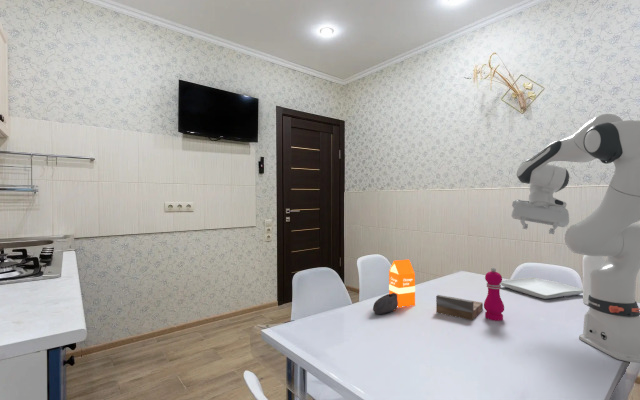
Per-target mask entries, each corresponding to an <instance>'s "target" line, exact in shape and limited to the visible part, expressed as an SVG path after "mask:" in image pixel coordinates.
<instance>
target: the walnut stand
mask: <svg viewBox="0 0 640 400" xmlns="http://www.w3.org/2000/svg"><path fill="white" fill-rule="evenodd" d="M435 298H436V307H435V308H436V312H435V313H437V312H438V313H437V314H441V313H442V314H441V315H445V314H446V316H450V315H451V316H450V317H455V316H456V317H455V318H459V317H460V318H461V319H465V320H469V321H473V320H474V319H475V318H476V317H477V316H478V315H479V314H480V313H482V311H483V310H484V309H483V308H484V303H483V302H480V301H475V300H469V299H464V298H460V297H459V298H458V297H452V296H445V295H441V294H437V295H436V297H435Z"/></svg>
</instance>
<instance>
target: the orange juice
mask: <svg viewBox="0 0 640 400" xmlns="http://www.w3.org/2000/svg"><path fill="white" fill-rule="evenodd" d="M415 277H416V273H415V270H414V268H413V266H412V262H411V261H410V259H402V260H401V259H399V260H397V259H396V260H393V262H392V264H391V266H390V268H389V271H388V292H389V293H388V294H391V293H395V294H397V301H398V307H397V308H399V307H400V308H403V307H402V306H407V307H411V306H410V305H413V306H416V278H415Z"/></svg>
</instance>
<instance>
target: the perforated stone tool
mask: <svg viewBox="0 0 640 400" xmlns="http://www.w3.org/2000/svg"><path fill="white" fill-rule="evenodd" d="M397 306H398V301H397V294H395V293H391V294H389V293H388V294H385V295H382V296H381V297H380V298H378V299H376V301H375V302H374V304H373V307H372V309H373V312H374V314H375V315H383V313H384V314H388V313H391V312H393V311H395V310H397V309H398V307H397ZM394 309H395V310H394ZM390 311H391V312H390ZM387 312H388V313H387Z"/></svg>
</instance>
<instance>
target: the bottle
mask: <svg viewBox="0 0 640 400" xmlns="http://www.w3.org/2000/svg"><path fill="white" fill-rule="evenodd" d="M582 257H583V258H582V289H583V293H582V301H583V302H582V303H583V304H584V305H587V306H589V305H588V297H589V295H590V274H591V272H592V271H593V270H594V269H596V268H598V267H600V266H602V265H603V264H604V263H605V261H606V259H605V258H604V256H587V255H583V256H582Z"/></svg>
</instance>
